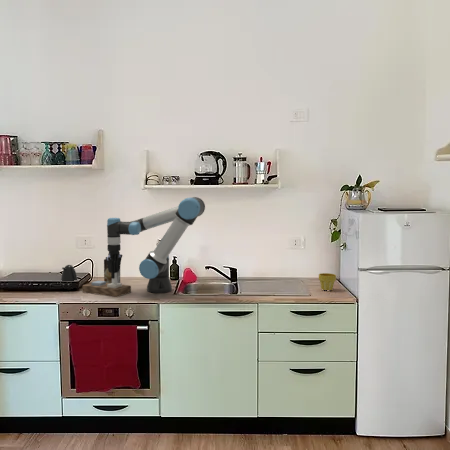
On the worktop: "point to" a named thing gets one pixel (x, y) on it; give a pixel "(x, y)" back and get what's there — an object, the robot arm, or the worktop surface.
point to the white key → (114, 285)
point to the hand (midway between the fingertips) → (114, 283)
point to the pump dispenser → (68, 273)
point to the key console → (106, 289)
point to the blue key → (98, 283)
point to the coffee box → (109, 274)
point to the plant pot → (327, 281)
